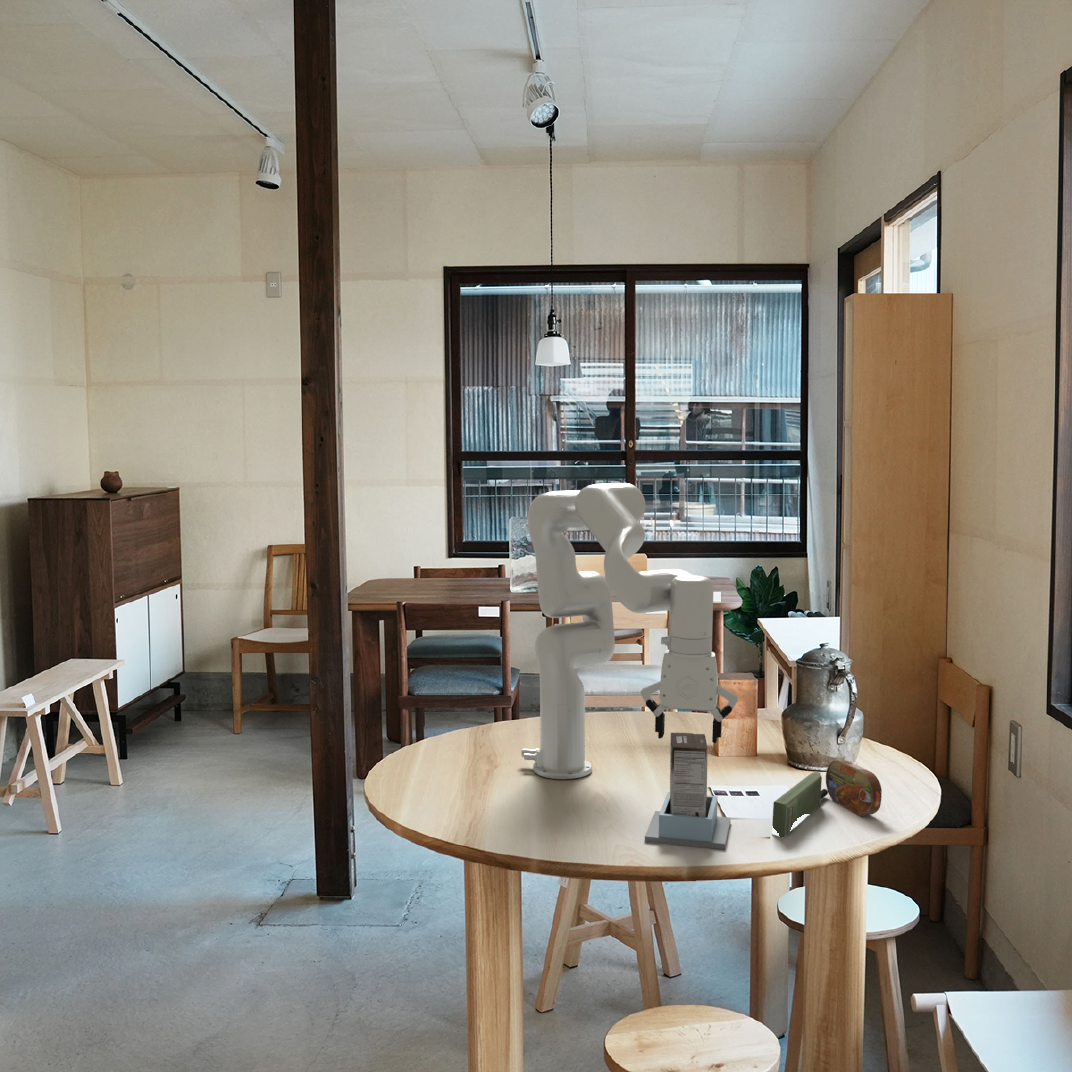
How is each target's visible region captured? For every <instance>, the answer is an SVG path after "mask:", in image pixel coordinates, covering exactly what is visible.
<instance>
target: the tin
mask: <svg viewBox="0 0 1072 1072" xmlns="http://www.w3.org/2000/svg"><path fill="white" fill-rule="evenodd" d="M825 785H826V790H827V791H828V796H829V797H830V798H831V800H832V801H833V802H834V803H835V804H837V805H839V804H840V805H839V806H841V807H842V808H845V809H846V810H849V811H850V812H852V813H853V814H855V815H857V816H872V815H874V814H876V813H878V811H879V810H880V809H881V806H882V805H881V803H882V796H883V795H882V791H883V790H882V785H881V783H880V781H879V778H878V777H877V776H876V775H875V773H873V771H870V770H868V769H866V768H864V767H862V766H860V765H857V764H856V763H853V762H852V761H849V760H837V759H835V760H832V761H831V762H829V764H828V767H827V769H826V772H825Z"/></svg>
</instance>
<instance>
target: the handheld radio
mask: <svg viewBox="0 0 1072 1072" xmlns="http://www.w3.org/2000/svg"><path fill="white" fill-rule="evenodd" d="M821 774H822V772H820V771H813V772H811V773H810V774H808V775H807V776H806V777H804V778H803V779H802V780H800V781H799V782H798V783H796V784H795V785H794V786H793V787H791V788H790V789H789V790H787V791H786V792H785V793H784V794H783V795H781V796H780V797H778V798H777V799H776V800H775V801H773V806H772V808H773V809H772V826H773V828H774V829H775V830H776V831H777V833H779V836H780V837H779V838H786V837H787V836H788V835H789V834H790V833H791V832H790V830H791V827H792V825H793V823H794V822H795V821H797V818H799V817H801V816H802V815H804V814H811V815H813V814H814V813H815V811H817V810H818V809H819V808H821V801H822V799H824V798H825V797H826V796H827V795H829V793H828V790H827V788H823V789H822V781H823V778H822V775H821ZM772 826H771V827H772ZM789 832H790V833H789ZM788 833H789V834H788ZM786 835H787V836H786ZM785 836H786V837H785Z"/></svg>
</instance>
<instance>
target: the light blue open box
mask: <svg viewBox="0 0 1072 1072" xmlns="http://www.w3.org/2000/svg"><path fill="white" fill-rule="evenodd" d="M718 799H719V798H718V795H710V794H709V795H708V794H707V810H706V817H696V816H685V815H673V814H670V791H668V792H667V793H666V795H665V797H664V801H663V803H662V805H661V809H660V810H659V811H658V810H655V811H654V813H653V815H652V818H651V821H650V823H649V825H648V828H647V829H646V832H645V835H644V843H652V844H662V845H672V846H673V845H674V846H684V847H692V848H693V847H695V848H703V849H704V848H705V849H706V848H707V849H713V850H714V849H718V850H724V851H725V850H726V847H727V841H728V836H729V833H730V827H731V817H728V816H727V817H726V816H718Z"/></svg>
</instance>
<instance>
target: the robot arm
mask: <svg viewBox="0 0 1072 1072" xmlns="http://www.w3.org/2000/svg"><path fill="white" fill-rule="evenodd" d="M645 512H646V500H645V497H644V495H643V493H642V491H641V490H640V489H639V488H638V487H637V486H635V485H634V484H631V483H627V482H618V483H617V482H616V483H614V482H613V483H612V482H611V483H607V482H606V483H594V484H589V485H587V486H585V487H583V488H582V489H578V490H569V489H568V490H553V491H548V492H543V493H541V494H538V496H536V497H535V498H534V499H533V500H532V502H531V503H530V505H529V507H528V512H527V528H528V532H529V533H528V534H529V537H530V540H531V543H532V547H533V551H534V557H535V567H536V580H537V593H538V601H539V606H540V607H539V608H540V610H541V612H542V614H544V616H546V617H548V618H552V619H561V618H562V619H563V618H572V617H580V616H581V617H582V621H581V622H567V623H562V624H555V625H550V626H547V627H546V628H544V629H542V630H541V631H540V632H539V633H538V635H537V636H536V639H535V641H534V642H535V644H534V646H535V654H536V655H535V656H536V659H537V666H538V674H539V697H540V698H539V701H540V702H539V704H540V705H539V706H540V709H539V711H540V715H539V718H540V723H539V725H540V726H539V727H540V729H539V730H540V731H539V732H540V734H539V735H540V736H539V737H540V745H539V746H540V747H536V749H533V748H527V747H526V748H525V747H523V748H522V749H521V752H520V753H521V757H522V758H523V759H524V761H534V763H533V768H532V769H533V773H535V774H536V775H538V776H539V777H543V778H548V779H553V780H574V779H579V778H583V777H586V776H588V775H589V774H591V773H592V771H593V765H592V763H591V762H590V761H588V760H586V691H585V686H584V684H583V682H582V680H581V679H580V677H579V675H578V674H577V672H576V669H580V668H585V667H592V666H598V665H602V664H603V665H604V664H606V663H607V662H609V661H610V660H611V658H612V657H613V655H614V652H615V647H616V644H615V641H616V640H615V639H616V638H615V625H614V624H615V623H614V614H613V600H612V593H613V594H614V596H615V597H616V598H617V600H618V601H619V603H621V604H622V605H623V606H624V607H625V608H626V609H627V610H628V611H631V612H633V613H635V614H646V613H648V614H649V613H654V612H655V613H656V612H662V611H663V612H666V611H669V634H668V635H667V636H661V639H660V644H661V645H665V646H667V648H668V649H667V650H666V651H664V654H663V657H662V663H661V670H660V671H661V672H660V681H657V682H655V683H652V684H650V685H648V686H646V687H643V688H642V689H641V690H640V695H641V697H642V699H643V701H644V702H645V706H646V707H647V708H648V709H649V710H650V711H651V712H652V713H653V716H654V717H655V718H654V719H655V721H654V723H655V724H654V732H655V733H657V734H658V735H657V737H658V739H662V738H663V737H664V735H665V721H666V719H665V717H666V716H665V715H666V714H665V712H664V711H665V710H667V709H669V710H679V711H689V712H690V711H691V712H702V713H703V712H704V713H705V712H707V713H708V712H709V713H710V714H711V715H712V717H713V720H712V736H711V739H712V740H711V741H712V743H713V744H717V742H718V739H720V738H722V725H723V724H722V723H723V719H725V718H726V717H728V715H729V714H731V713H732V711H733V709H734V708H735V706H736V704H737V703H738V701H739V696H738V695H737V694H735V693H734V692H732V691H730V690H728V689H726V688H725V687H723V686H721V685H720V684H719V675H718V674H719V673H718V665H717V664H718V662H717V658H716V653H715V652H714V651H712V649H713V621H714V617H713V616H714V615H713V614H714V583H713V581H712V579H710V578H709V577H706V576H704V575H698V574H697V575H696V574H692V573H690V572H688V571H686V570H685V569H681V568H668V569H652V570H643V571H638V570H637V569H635V567H634V566H633V565H632V564H631V562H630V561H629V560H628V559H631V557H632V556H634V555H635V554H636V553H637V552H638V551H639V550H640V548H641V547H642V546H643V544H644V542H645V539H646V533H645V532H646V531H645V528H644V527H643V526H642V524H641V523H640V521H641V520H642V518H643V517H644V514H645ZM575 531H576V532H578V531H579V532H580V531H590V533H591V534H592V535H593V537H594V539H595V540H596V541H597V542H598V543H599V545H600V547H602V549H603V551H605V554H604V559H603V571H604V575H602V574H601V573H599V572H598V571H595V570H582V571H580V570H579V571H578V569H577V562H576V560H577V559H576V552H575V548H574V547H573V544H572V543H571V542H570V540H569V539H568V537H567V536H566V534H564V532H575ZM611 592H612V593H611ZM658 691H659V704H658V703H656V701H655V700H654V699H653V698H652V696H651V694H653V693H656V692H658ZM719 696H720V697H722V698H724V699H726V700H727V701H728V702H727V704H726V705H725V706H724V707H722V708H720V706H719V705H718V699H719Z"/></svg>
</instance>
